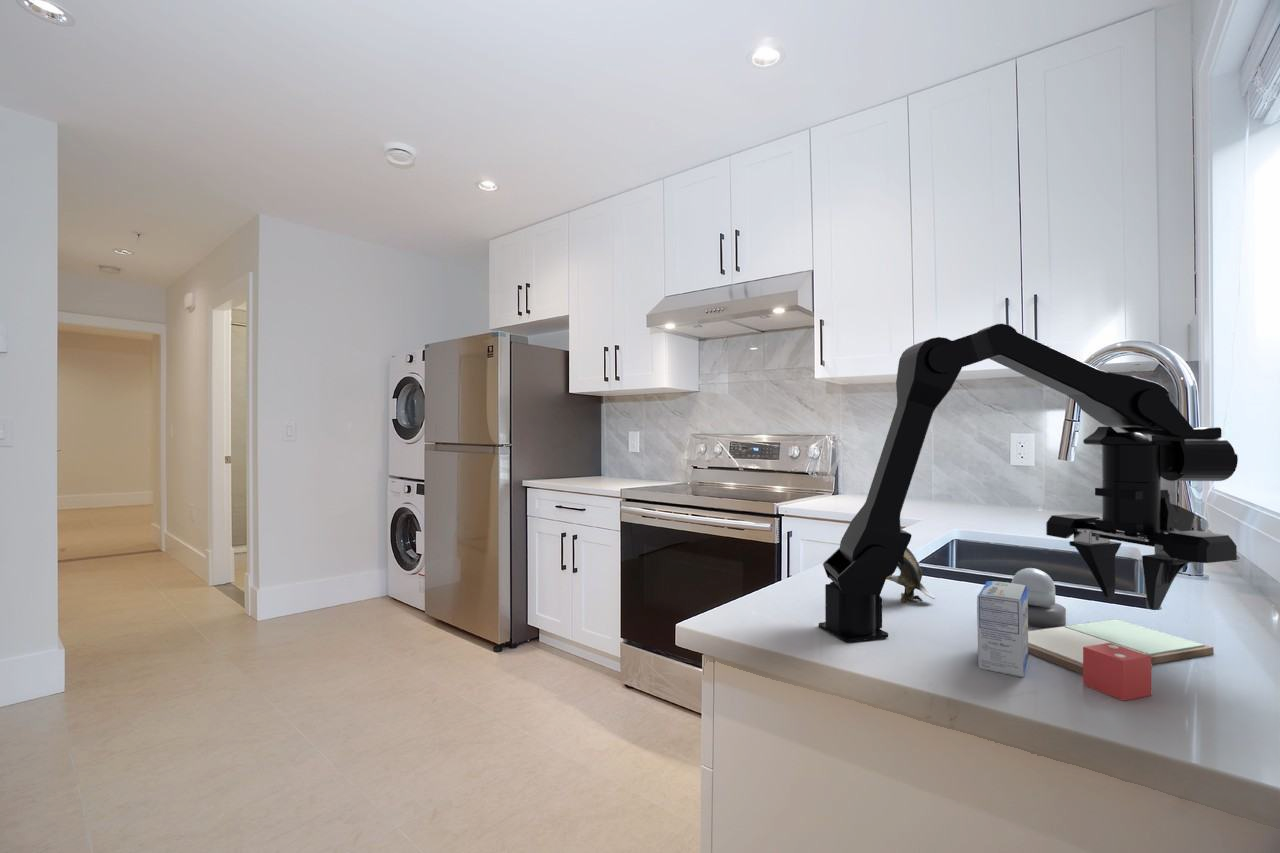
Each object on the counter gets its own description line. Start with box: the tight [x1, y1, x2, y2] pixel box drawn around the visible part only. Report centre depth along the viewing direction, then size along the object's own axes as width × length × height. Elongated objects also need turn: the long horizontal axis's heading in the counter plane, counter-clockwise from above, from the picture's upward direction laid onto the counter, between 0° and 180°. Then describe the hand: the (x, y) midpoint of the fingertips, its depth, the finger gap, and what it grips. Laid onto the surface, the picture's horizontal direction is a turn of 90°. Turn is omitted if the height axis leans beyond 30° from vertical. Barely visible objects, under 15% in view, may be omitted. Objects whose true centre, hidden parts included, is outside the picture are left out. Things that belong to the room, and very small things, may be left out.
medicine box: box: [976, 580, 1029, 678], centre depth 69 cm, size 8×4×9 cm, turn 143°
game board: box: [1028, 618, 1215, 675], centre depth 73 cm, size 21×11×1 cm, turn 107°
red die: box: [1082, 643, 1153, 701], centre depth 62 cm, size 4×4×4 cm
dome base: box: [1028, 602, 1067, 629], centre depth 85 cm, size 8×8×2 cm
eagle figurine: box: [886, 547, 936, 604], centre depth 93 cm, size 8×7×9 cm
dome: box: [1011, 567, 1056, 606], centre depth 85 cm, size 5×5×5 cm
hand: (1131, 603), depth 75 cm, fingers open, 5 cm apart
